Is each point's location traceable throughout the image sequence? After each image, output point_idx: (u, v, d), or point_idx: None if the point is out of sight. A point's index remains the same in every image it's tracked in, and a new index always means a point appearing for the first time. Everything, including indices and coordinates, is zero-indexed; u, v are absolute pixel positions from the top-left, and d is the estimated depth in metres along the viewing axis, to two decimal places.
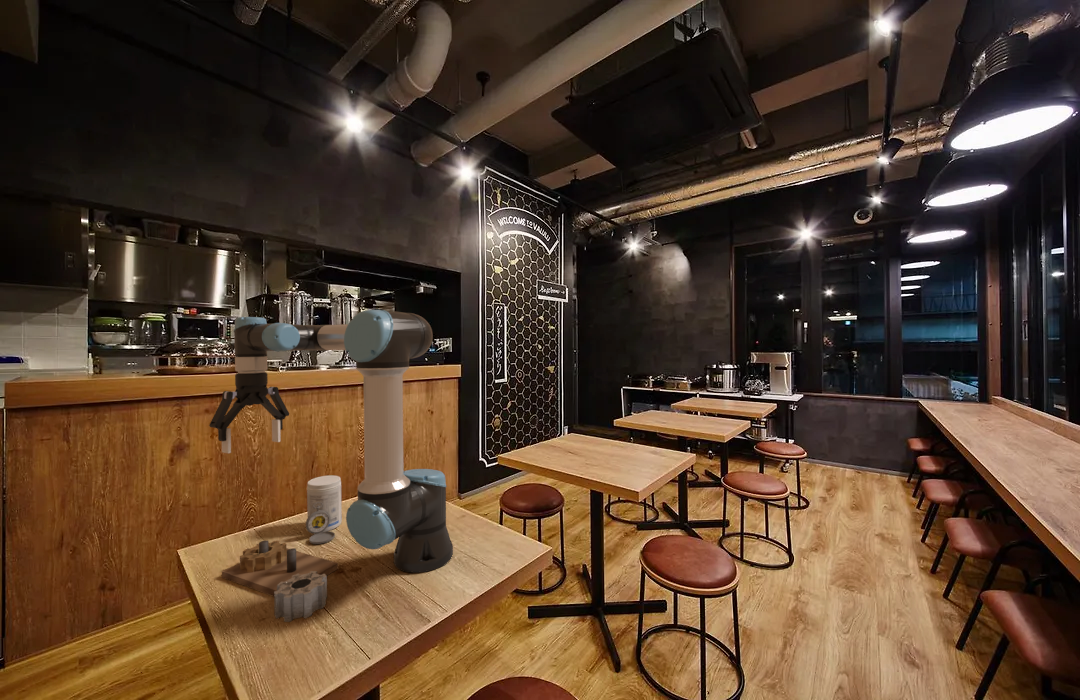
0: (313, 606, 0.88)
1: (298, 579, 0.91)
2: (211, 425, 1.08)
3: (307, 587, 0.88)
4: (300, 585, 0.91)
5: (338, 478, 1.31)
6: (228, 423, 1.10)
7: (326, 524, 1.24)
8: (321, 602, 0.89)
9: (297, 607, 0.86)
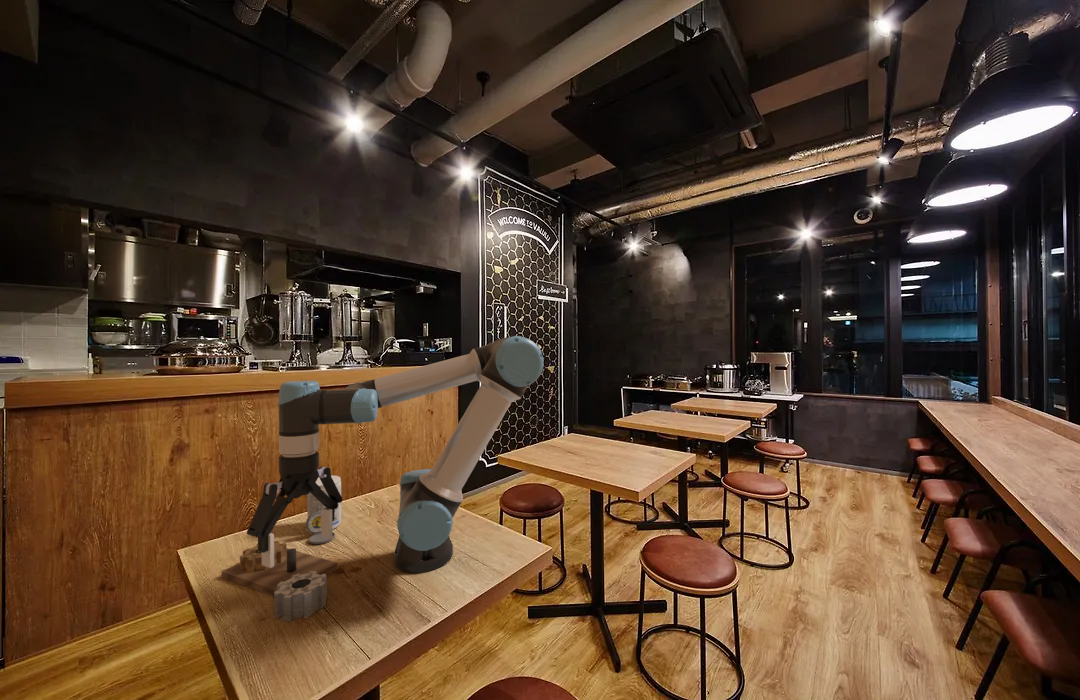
0: (313, 606, 0.88)
1: (298, 579, 0.91)
2: (249, 533, 0.80)
3: (307, 587, 0.88)
4: (300, 585, 0.91)
5: (338, 478, 1.31)
6: (271, 527, 0.83)
7: None
8: (321, 602, 0.89)
9: (297, 607, 0.86)
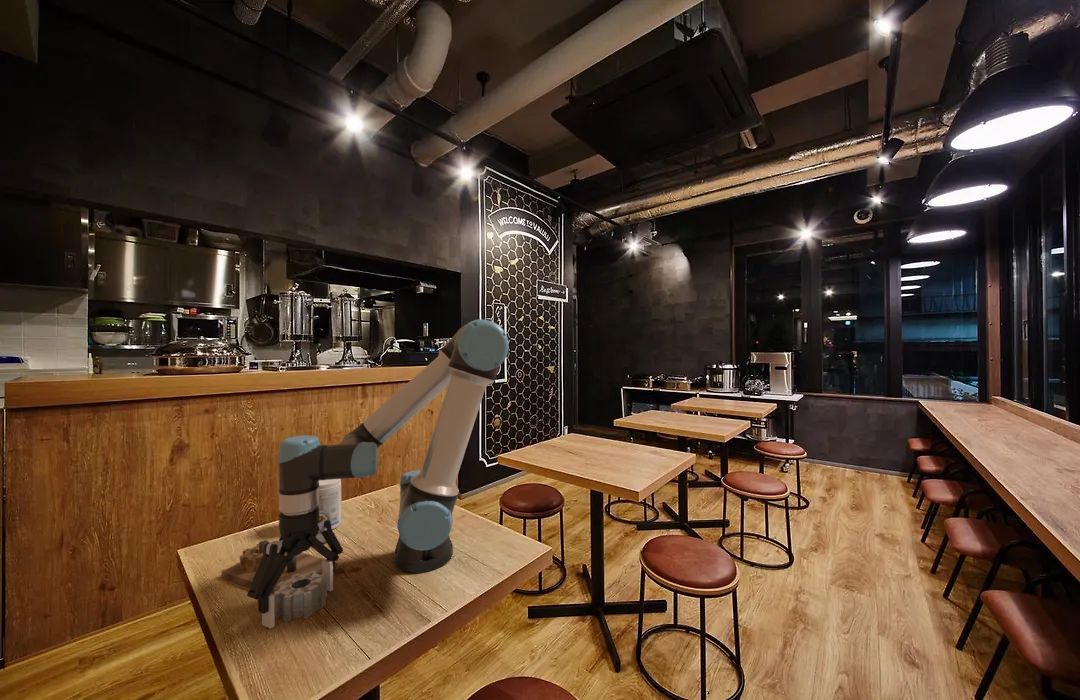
0: (313, 606, 0.88)
1: (298, 579, 0.91)
2: (250, 595, 0.80)
3: (307, 587, 0.88)
4: (300, 585, 0.91)
5: None
6: (271, 588, 0.83)
7: None
8: (321, 602, 0.89)
9: (297, 607, 0.86)
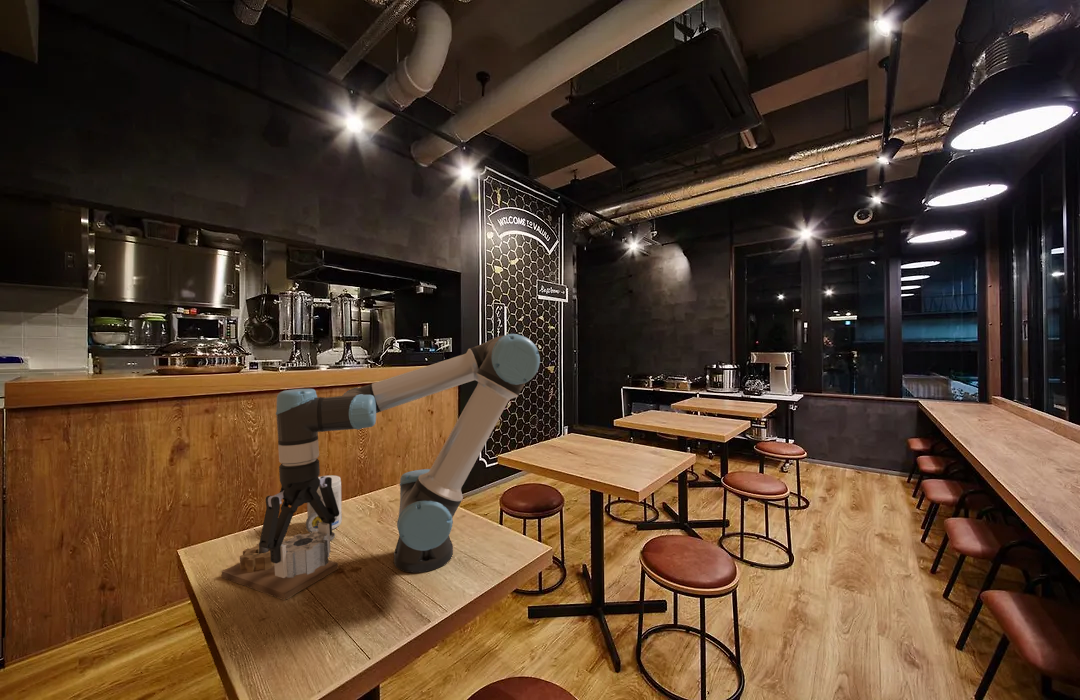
0: (315, 563, 0.88)
1: (300, 538, 0.91)
2: (262, 545, 0.82)
3: (309, 544, 0.88)
4: (302, 544, 0.91)
5: (338, 478, 1.31)
6: (282, 538, 0.84)
7: None
8: (324, 560, 0.89)
9: (299, 563, 0.86)
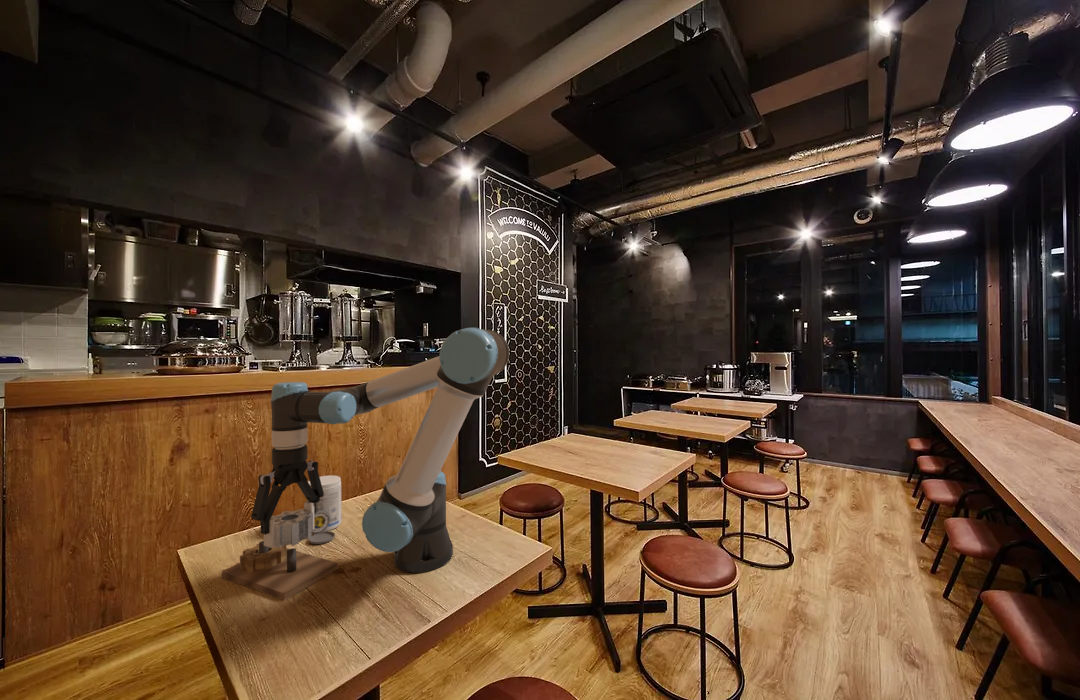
0: (300, 536, 1.00)
1: (287, 514, 1.03)
2: (253, 517, 0.94)
3: (295, 519, 1.00)
4: (289, 519, 1.03)
5: (338, 478, 1.31)
6: (271, 512, 0.96)
7: (326, 524, 1.24)
8: (307, 534, 1.01)
9: (286, 535, 0.98)
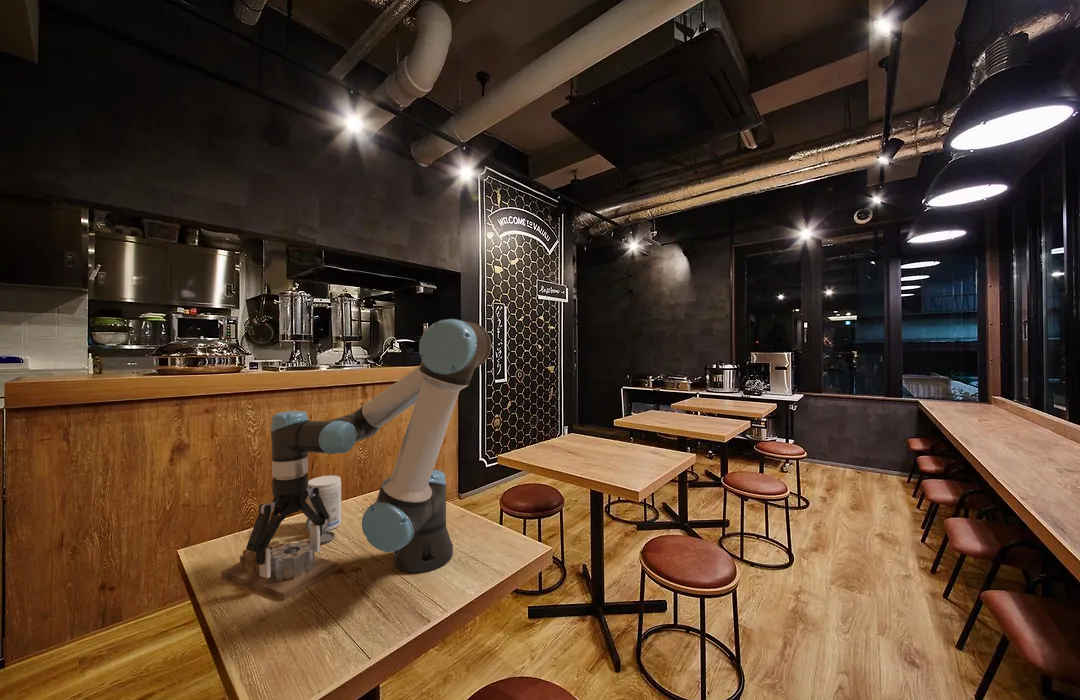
0: (302, 569, 1.00)
1: (289, 547, 1.03)
2: (248, 548, 0.92)
3: (296, 553, 1.00)
4: None
5: (338, 478, 1.31)
6: (267, 543, 0.95)
7: (326, 524, 1.24)
8: (309, 566, 1.01)
9: (287, 569, 0.98)
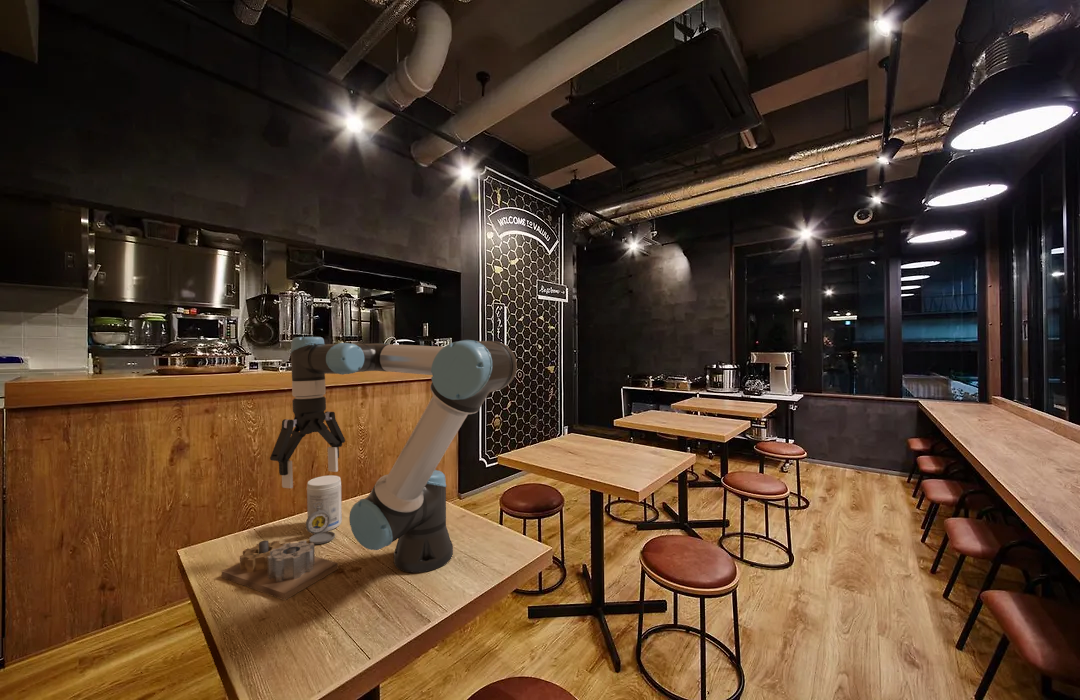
0: (302, 569, 1.00)
1: (289, 547, 1.03)
2: (272, 458, 0.97)
3: (296, 553, 1.00)
4: None
5: (338, 478, 1.31)
6: (290, 455, 1.00)
7: (326, 524, 1.24)
8: (309, 566, 1.01)
9: (287, 569, 0.98)
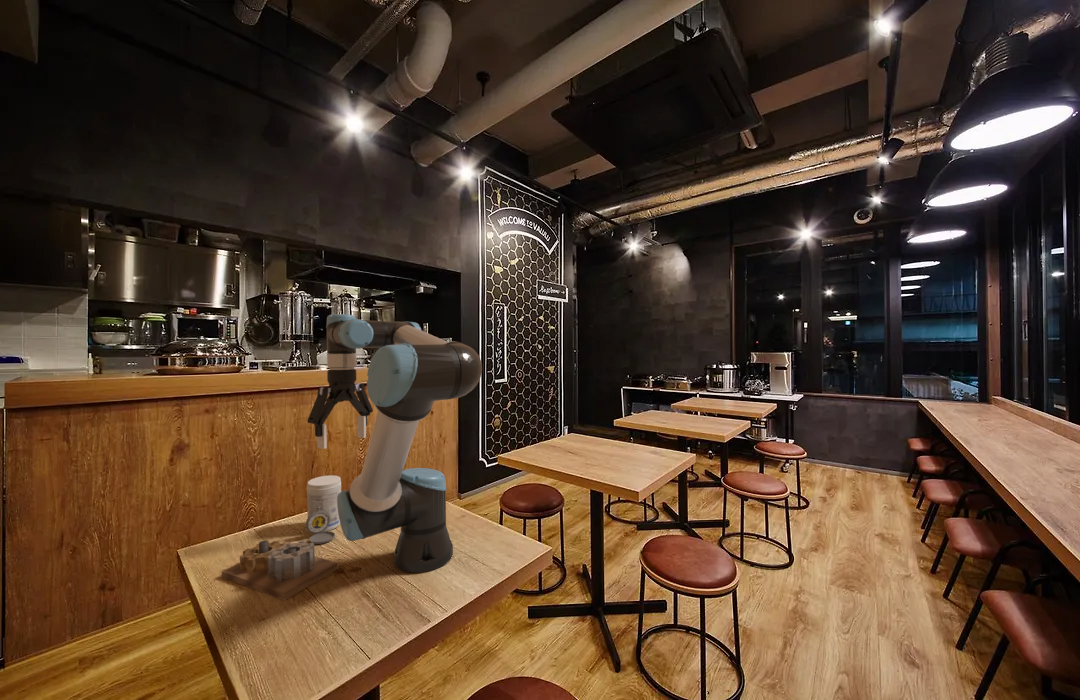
0: (302, 569, 1.00)
1: (289, 547, 1.03)
2: (309, 421, 1.09)
3: (296, 553, 1.00)
4: None
5: (338, 478, 1.31)
6: (324, 419, 1.12)
7: (326, 524, 1.24)
8: (309, 566, 1.01)
9: (287, 569, 0.98)
